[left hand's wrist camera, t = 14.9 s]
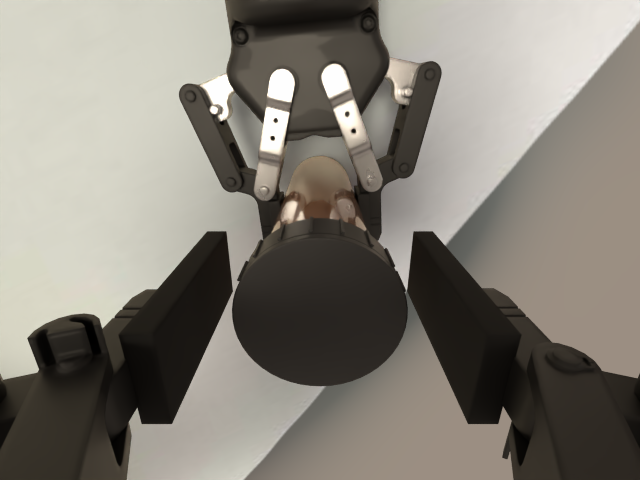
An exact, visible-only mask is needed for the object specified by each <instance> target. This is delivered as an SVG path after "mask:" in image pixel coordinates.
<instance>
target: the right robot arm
mask: <svg viewBox="0 0 640 480" xmlns="http://www.w3.org/2000/svg"><path fill="white" fill-rule="evenodd" d="M225 3H226V10H227V16H228V22H229V29H230V35H231V44H232V46H231V55H230V58H229V61H228V64H227V73H225V74H223V75H221V76H218V77H216V78H214V79H211V80H209V81H207V82H204V83H202V84H200V85H196V84H185V85H183V86H182V87H181V89H180V91H179V98H180V101H181V103H182V105H183V107H184V109H185V111H186V113H187V115H188V117H189V119H190V121H191V123H192V125H193V128H194V130H195V132H196V134H197V136H198V138H199V140H200V142H201V144H202V146H203V148H204V150H205V152H206V154H207V156H208V158H209V160H210V163H211V165H212V167H213V169H214V171H215V173H216V175H217V177H218V179H219V181H220V183H221V185H222V187H223V188H224V189H225V190H226V191H228V192H236V191H238V192H242V193H245V194H249V195H251V196H252V197H254V198H255V200H256V201H257V204H258V209H259V215H260V222H261V228H262V234H263V240H264V239H265V238H266V237H267V236H268V235H270V234H271V232H272V229H273V226H274V224H275V221H276V218H277V216H278V213H279V210H280V208H281V205H282V202H283V199H284V192H280V190H279V183H280V178H281V173H282V167H283V162H284V158H285V154H286V150H287V145H288V141H294V140H301V139H304V138H306V137H309V136H311V135H318V136H323V137H339V136H342V138H343V141H344V143H345V146H346V148H347V151H348V153H349V156H350V158H351V161H352V163H353V166H354V168H355V171H356V174H357V185H358V186H354V193H355V197H356V200H357V202H358V205H359V208H360V210H361V213H362V216H363V218H364V221H365V224H366V227H367V229H368V231H369V233H370V235H371V236H372V237H374V238H375V239H376V240H379V238H380V235H381V191H382V189H383V187H384V186H385V185H386V184H387V183H389V182H391V181H393V180H396V179H398V178H407V177H409V176H410V175H412V173H413V172H414V169H415V165H416V162H417V158H418V155H419V151H420V148H421V144H422V141H423V138H424V134H425V131H426V127H427V124H428V120H429V117H430V113H431V110H432V106H433V103H434V99H435V96H436V92H437V89H438V85H439V82H440V78H441V68H440V66H439V65H438V64H437V63H436V62H433V61H429V62H424V63H421V64H419V63H414V62H409V61H405V60H400V59H395V58H391V57H389V53H388V50H387V48H386V46H385V44H384V42H383V40H382V38H381V35H380V30H379V18H378V0H225ZM384 78H386V79H387V80H388V81H389V82H390V84H391V97H392V99H393V101H394V102H395V103H397V104H400V105H399V109H398V113H397V117H396V120H395V124H394V128H393V132H392V136H391V140H390V144H389V148H388V152H387V155H386V156H384V157H382V158H380V159H378V160H376V159H375V156H374V153H373V150H372V146H371V143H370V140H369V137H368V134H367V132H366V129H365V126H364V123H363V121H362V118H361V115H362V114H363V112H364V110H365V109H366V107H367V105H368V104H369V102H370V101H371V99H372V97H373V96H374V94H375V92H376V91H377V89H378V87H379V86H380V84H381V82H382V81H383V79H384ZM235 92H236V93H237V95H238V96H239V97H240V98H241V99H242V100H243V101H244V103H245V104H246V105H247V106H248V107H249V108H250V109H251V111H252V112H253V113H254V114H255V115H256V116H257V117H258V118H259V120H260V121H261V122H262V123H263V130H262V135H261V141H260V147H259V154H258V157H259V161H258V167H257V170H255V169H251V168H248V167H247V165H246V162H245V160H244V158H243V156H242V153H241V151H240V149H239V147H238V144H237V142H236V140H235V138H234V136H233V133H232V131H231V129H230V127H229V124H228V122H227V119H229V118H230V117H231V115H232V111H233V110H232V105H231V98H232V96H233V94H234V93H235Z"/></svg>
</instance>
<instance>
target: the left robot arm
mask: <svg viewBox="0 0 640 480" xmlns="http://www.w3.org/2000/svg"><path fill="white" fill-rule="evenodd" d="M232 292H233V289H232V279H231V270H230V261H229V251H228V242H227V233H226V231H207V232H206V234H205V235H204V236H203V237H202V238H201V239H200V241H199V242H198V243H197V244H196V245H195V246H194V248H193V249H192V250H191V251H190V252H189V253H188V254H187V256H186V257H185V258H184V259H183V260H182V261H181V263H180V264H179V265H178V266H177V267H176V268H175V270H174V271H173V272H172V273H171V274H170V275H169V276H168V278H167V279H166V280H165V281H164V282H163V283H162V285H161V286H160V287H159V288H158V289H157V290H145V291H143V292H141V293H140V294H138V295H136V296H135V297H133V298H132V299H131V300H130V301H129V302H128V303H127V304H126V305H125V306H124V307H123V309H122V310H120V311H119V312H118V313H117V314H116V315H115V318H112V320H111V321H110V322H109V323H108V324H107V325H106V326H105V327H104V328H103V329H102V327H101V323H100V319H99V318H98V317H96V316H95V315H91V314H75V315H69V316H66V317H62V318H58V319H56V320H53V321H51V322H49V323H46V324H44V325H43V326H41V327H40V328H38V329H37V330H35V331H34V332H33V333H32V334H31V335H30V336H29V337H28V338H27V339H28V341H29V344H30V347H31V349H32V352H33V354H34V357H35V360H36V362H37V365H38V367H39V371H38V373H34V374H29V375H25V376H20V377H15V378H10V379H5V380H3V379H2V377H1V374H0V480H127V471H128V462H129V453H130V445H131V430H130V426H129V420H130V419H131V417H132V415H133V414H134V412H135V410H136V409H137V408H138V411H139V415H140V419H141V423H142V424H172V423H173V420H174V418H175V416H176V414H177V412H178V409H179V407H180V405H181V403H182V401H183V399H184V396H185V394H186V392H187V390H188V388H189V385H190V383H191V381H192V379H193V377H194V375H195V372H196V370H197V368H198V366H199V364H200V361H201V359H202V357H203V355H204V353H205V351H206V348H207V346H208V344H209V342H210V340H211V338H212V335H213V333H214V331H215V329H216V327H217V324H218V322H219V320H220V318H221V316H222V314H223V311H224V309H225V307H226V305H227V303H228V300H229V298H230V296H231V294H232ZM407 292H408V294H409V296H410V298H411V300H412V303H413V305H414V307H415V309H416V311H417V313H418V316H419V318H420V320H421V322H422V324H423V327H424V329H425V331H426V333H427V335H428V338H429V340H430V342H431V344H432V346H433V348H434V351H435V353H436V355H437V357H438V359H439V361H440V364H441V366H442V368H443V370H444V372H445V375H446V377H447V379H448V381H449V383H450V385H451V388H452V390H453V392H454V394H455V396H456V398H457V401H458V403H459V405H460V407H461V409H462V412H463V414H464V416H465V418H466V420H467V423H468V424H498V423H499V419H500V415H501V411H502V408H503V407H504V408H505V410H506V412H507V413H508V415H509V417H510V418H511V420H512V422H511V426H510V430H509V433H508V436H507V440H506V444H505V447H504V451H503V458H505V459H508V455H509V452H511V461H512V470H513V478H514V480H640V374H639V377H638V378H633V377H628V376H623V375H618V374H613V373H608V372H604V371H602V370H601V369H600V367H599V366H598V365H597V364H596V362H595V361H594V360H593V359H591V358H590V357H588V356H587V355H586V354H584V353H582V352H580V351H578V350H576V349H574V348H572V347H569V346H566V345H562V344H559V343H552V342H551V341H550V340H549V339H548V338H547V337H546V336H545V335H544V334H543V332H542V331H541V330H540V329H539V328H538V327H537V326H536V325H535V324H534V323H533V322H532V321H531V320H530V319H529V318H528V317H526V315H525V314H524V313H523V312H522V311H521V310H520V309H518V307H517V305H516V304H515V303H514V302H513V301H512V300H511V299H510V298H509V297H508V296H506V295H504V294H503V293H501V292H499V291H497V290H496V289H494V288H481V287H480V286H479V285H478V283H477V282H476V281H475V280H474V279H473V278H472V276H471V275H470V274H469V273H468V272H467V271H466V270H465V268H464V267H463V266H462V265H461V264H460V263H459V261H458V260H457V259H456V258H455V257H454V256H453V254H452V253H451V252H450V251H449V250H448V249H447V248H446V246H445V245H444V244H443V243H442V242H441V241H440V239H439V238H438V237H437V236H436V235H435V234H434V232H433V231H414V233H413V242H412V251H411V261H410V270H409V279H408V289H407Z"/></svg>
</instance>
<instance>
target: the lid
mask: <svg viewBox="0 0 640 480" xmlns="http://www.w3.org/2000/svg"><path fill="white" fill-rule="evenodd" d="M394 267H395V265H394V262H393V260H392V258H391V256H390V254H389V251H388V249H387V248H385V249H384V248H383V247H382V245H381V244H380V243H379V242H378V241H377V240H376V239H375V238H374V237H372V236H371V235H370V233H369V231H368V230H365V231H364V230H363V229H361V228H359V227H357V226H355V225H353V224H350V223H347V222H344V221H343V219H339V220H335V219H330V218H313V216H312V217H310V219H304V220H299V221H296V222H293V223H290V224H287V225H285V224H282V225H281V228H279V229H277V230H276V231H274V232H273V233H271V234H270V235H268V236H267V237H266V238H265V239H264V240H260V241H259V243H258V245H257V247H256V249H255V251H254V252H253V254H252V255H251V257H250V259H249V262H248V261H246V262H245V264H244V266H243V268H242V271H241V273H240V275H239V277H238V279H237V281H240V282H239V284H238V286H237V289H236V291H235V295H234V299H233V306H232V317H233V324H234V328H235V331H236V334H237V337H238V339H239V341H240V343H241V345H242V347H243V348H244V350H245V351H246V352H247V354H248V355H249V356H250V357H251V358H252V359H253V360H254V361H255V362H256V363H257V364H258V365H259V366H261V367H262V368H263V369H265V370H266V371H268V372H269V373H271V374H273V375H275V376H277V377H279V378H281V379H284V380H287V381H289V382H293V383H297V384H302V385H309V386H332V385H338V384H343V383H347V382H350V381H353V380H356V379H358V378H361V377H363V376H365V375H367V374H369V373H370V372H372V371H373V370H375V369H377V368H378V367H379V366H380V365H382V364H383V363H384V362H385V361H386V360H387V359H388V358H389V357H390V356H391V355H392V354H393V352H394V351H395V349H396V348H397V346H398V345H399V343H400V341H401V339H402V337H403V334H404V331H405V328H406V323H407V311H408V307H407V300H406V296H405V292H406V290H405V287H404V285H403V283H402V280H401V278H400V276H399V274H398V272H397V271H395V268H394Z"/></svg>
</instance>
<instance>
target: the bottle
mask: <svg viewBox="0 0 640 480" xmlns="http://www.w3.org/2000/svg"><path fill="white" fill-rule="evenodd" d="M312 216H313V218H330V219H335V220H339V219H343V221H344V222H347V223H350V224H353V225H355V226H357V227H359V228H361V229H363V230H364V231H365V230H368V229H367V227H366V224H365V221H364V218H363V216H362V213H361V210H360V208H359V205H358V202H357V200H356V197H355V194H354V191H353V189H352V186H351V183H350V181H349V178H348V175H347V173H346V171H345V169H344V168H343V167H342V165H341V164H340V163H338V162H337V161H336V160H334V159H332V158H329V157H325V156H315V157H311V158H308V159H306V160H304V161H303V162H302V163H300V164H299V165H298V166H297V168H296V169H295V171H294V173H293V175H292V178H291V181H290V183H289V186H288V189H287V191H286V194H285V197H284V199H283V202H282V205H281V208H280V210H279V213H278V216H277V218H276V221H275V224H274V226H273V229H272V232H271V233H273V232H274V231H276V230H277V229H279V228H281V225H282V224H285V225H287V224H290V223H293V222H296V221H299V220H304V219H310V217H312Z"/></svg>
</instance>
